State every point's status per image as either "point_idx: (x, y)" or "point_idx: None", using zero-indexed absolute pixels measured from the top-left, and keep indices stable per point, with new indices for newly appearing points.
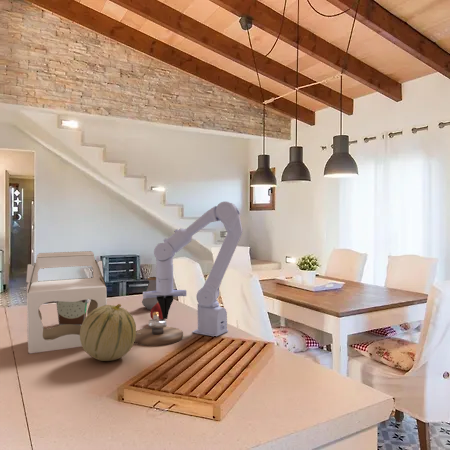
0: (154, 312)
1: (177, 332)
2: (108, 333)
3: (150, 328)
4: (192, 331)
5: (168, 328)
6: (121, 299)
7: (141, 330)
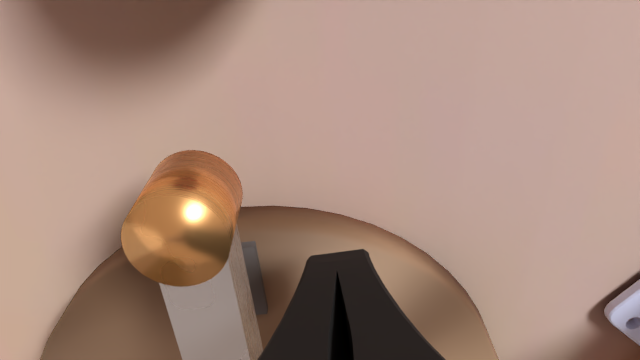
0: (153, 241)
1: None
2: None
3: None
4: (609, 318)
5: None
6: None
7: (94, 341)
